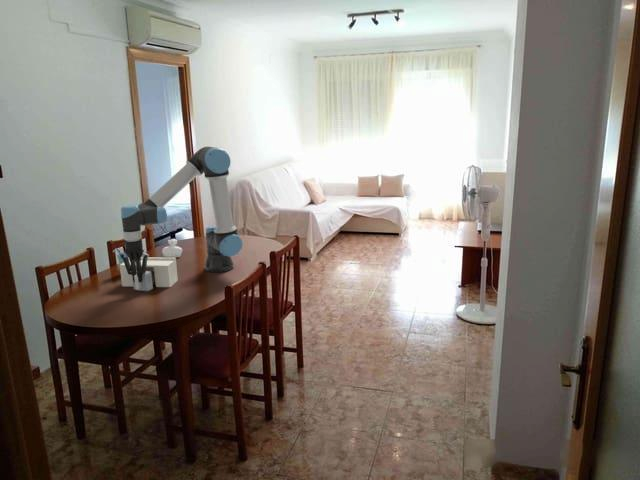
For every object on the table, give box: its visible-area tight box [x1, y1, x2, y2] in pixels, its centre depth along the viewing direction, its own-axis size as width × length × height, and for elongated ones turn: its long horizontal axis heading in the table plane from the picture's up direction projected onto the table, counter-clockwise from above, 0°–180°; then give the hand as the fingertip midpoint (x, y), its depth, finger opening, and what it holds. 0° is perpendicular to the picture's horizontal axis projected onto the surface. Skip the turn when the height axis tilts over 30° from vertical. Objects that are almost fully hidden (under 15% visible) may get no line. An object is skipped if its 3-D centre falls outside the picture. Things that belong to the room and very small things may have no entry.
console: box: [119, 256, 179, 288], centre depth 244 cm, size 24×10×12 cm, turn 84°
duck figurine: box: [161, 238, 183, 258], centre depth 291 cm, size 12×8×11 cm
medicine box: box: [132, 271, 154, 292], centre depth 236 cm, size 8×4×9 cm, turn 70°
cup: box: [111, 248, 129, 265], centre depth 258 cm, size 14×8×15 cm, turn 157°
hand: (138, 288), depth 233 cm, fingers closed
